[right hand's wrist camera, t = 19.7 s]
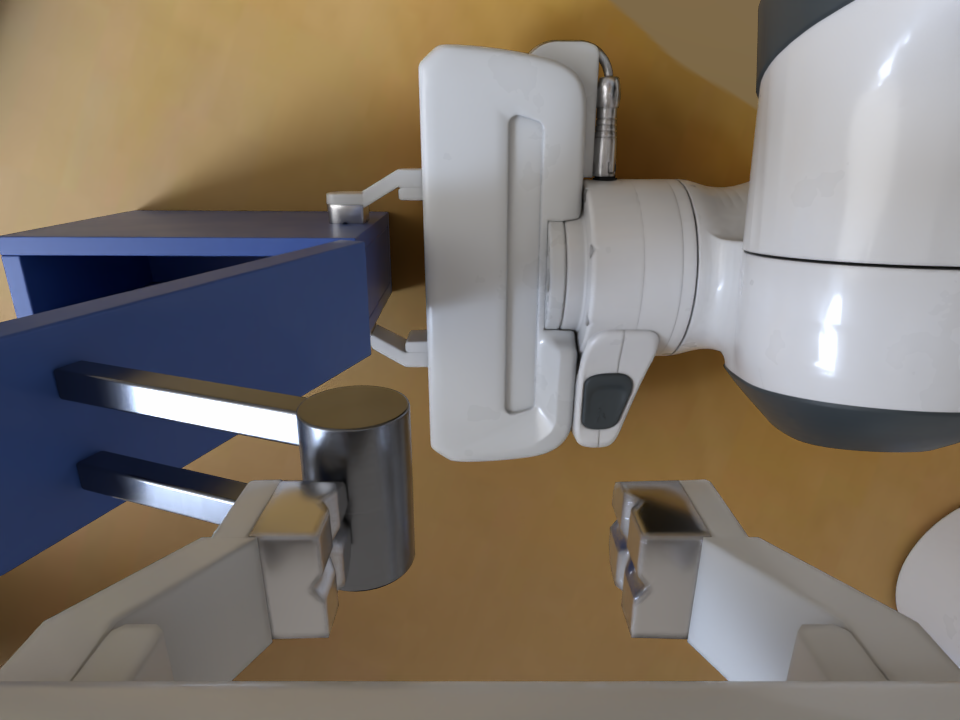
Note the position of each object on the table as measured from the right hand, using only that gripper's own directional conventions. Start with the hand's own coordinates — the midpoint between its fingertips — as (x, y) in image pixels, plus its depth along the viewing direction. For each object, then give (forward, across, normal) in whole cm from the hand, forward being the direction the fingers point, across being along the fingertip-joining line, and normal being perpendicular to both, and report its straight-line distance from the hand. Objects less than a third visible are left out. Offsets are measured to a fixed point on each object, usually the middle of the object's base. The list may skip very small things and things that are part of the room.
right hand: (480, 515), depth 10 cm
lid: (+9, +8, 0) cm, 12 cm away
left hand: (+22, +7, 0) cm, 23 cm away
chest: (+27, +12, 0) cm, 29 cm away
